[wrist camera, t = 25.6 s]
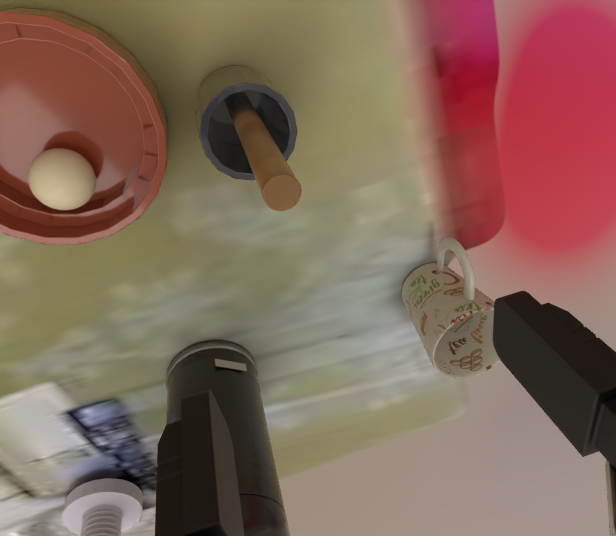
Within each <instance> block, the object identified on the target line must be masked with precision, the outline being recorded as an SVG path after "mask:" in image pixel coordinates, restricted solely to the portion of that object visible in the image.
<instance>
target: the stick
mask: <svg viewBox="0 0 616 536" xmlns="http://www.w3.org/2000/svg"><path fill="white" fill-rule="evenodd" d="M226 106H227V109H228V111H229V114H230V116H231V119H232V121H233V124H234V126H235V129H236V131H237V134H238V137H239V139H240V142H241V144H242V147H243V149H244V152H245V154H246V157H247V159H248V162H249V164H250V167H251V169H252V172H253V174H254V177H255V179H256V182H257V184H258V187H259V189H260V192H261V194H262V197H263V199H264V201H265V203H266V204H267V206H269V207H270V208H271V209H274V210H277V211H284V210H288V209H290V208H292V207H293V206H295V205H296V204H297V202H298V201H299V199H300V196H301V186H300V183H299V182H298V180H297V178H296V177H295V175H294V173H293V172H292V170H291V168H290V167H289V165H288V163H287V162H286V160H285V158H284V157H283V155H282V153H281V152H280V150H279V148H278V147H277V145H276V143H275V142H274V140H273V138H272V137H271V135H270V133H269V132H268V130H267V128H266V127H265V125H264V123H263V122H262V120H261V118H260V117H259V115H258V113H257V112H256V110H255V108H254V107H253V105H252V103H251V102H250V100H249V98H248V97H247V95H246V94H245V93H243V92H239V93H235V94H231V95H229V96H228V97H227V99H226Z"/></svg>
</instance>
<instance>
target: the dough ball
mask: <svg viewBox="0 0 616 536" xmlns="http://www.w3.org/2000/svg"><path fill="white" fill-rule="evenodd" d="M28 184H29V187H30V189H31V191H32V193H33V194H34V196H35V197H36V198H37V199H38V200H39V201H40V202H42V203H43V204H45V205H46V206H48V207H51V208H54V209H58V210H72V209H76V208H78V207H81V206H82V205H84V204H85V203H87V202H88V201H89V200H90V199H91V197H92V195H93V194H94V191H95V188H96V175H95V172H94V169H93V167H92V166H91V164H90V163H89V162H88V161H87V160H86V159H85V158H84V157H83V156H82V155H80V154H79V153H77V152H75V151H72V150H69V149H64V148H54V149H49V150H46V151H44V152H42V153H40V154H39V155H38V156H37V157H35V158H34V160H33V161H32V163H31V164H30V166H29V169H28Z"/></svg>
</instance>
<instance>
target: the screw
mask: <svg viewBox="0 0 616 536" xmlns="http://www.w3.org/2000/svg"><path fill="white" fill-rule="evenodd" d="M142 507H143V495H142V492H141V490H140V489H139V488H138V487H137V486H136V485H135V484H133V483H131V482H129V481H126V480H122V479H114V478H105V479H98V480H93V481H90V482H87V483H84V484H82V485H80V486H78V487H76V488H75V489H74V490H72V491H71V492H70V493H69V495H68V496H67V497H66V500H65V505H64V510H63V514H62V523H63V525H64V526H65V528H66V529H67V530H69V531H70V532H72V533H74V534H77V535H79V536H120V534H121V532H124V531H126V530H128V529H129V528H131V527H132V526H134V525H135V524H136V523H137V522H138V521H139V519H140V518H141V515H142Z"/></svg>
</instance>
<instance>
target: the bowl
mask: <svg viewBox="0 0 616 536" xmlns="http://www.w3.org/2000/svg"><path fill="white" fill-rule="evenodd" d="M54 148H64V149H69V150H72V151H75V152H77V153H79V154H80V155H82V156H83V157H84V158H85V159H86V160H87V161H88V162H89V163H90V164H91V166H92V167H93V169H94V172H95V175H96V188H95V191H94V194H93V195H92V197H91V199H90V200H89V201H88V202H87V203H85V204H84V205H82V206H81V207H78V208H76V209H72V210H58V209H54V208H51V207H48V206H46V205H45V204H43V203H42V202H40V201H39V200H38V199H37V198H36V197H35V196H34V194H33V193H32V191H31V189H30V187H29V184H28V169H29V166H30V164H31V163H32V161H33V160H34V158H35V157H37V156H38V155H39V154H40V153H42V152H44V151H46V150H49V149H54ZM166 166H167V121H166V116H165V113H164V110H163V107H162V104H161V102H160V99H159V96H158V93H157V90H156V88H155V86H154V84H153V82H152V81H151V80H150V78H149V77H148V75H147V74H146V73H145V71H144V70H143V69H142V67H141V66H140V64H139V63H138V62H137V60H136V59H135V58H134V56H133V55H132V54H131V53H130V52H129V51H127V50H126V49H125V48H124V47H122V46H121V45H120V44H119V43H117V42H116V41H115V40H114V39H112V38H111V37H110V36H109V35H107V34H106V33H105V32H104V31H102V30H101V29H99V28H97V27H95V26H93V25H90V24H88V23H85V22H83V21H81V20H78V19H76V18H74V17H71V16H69V15H67V14H64V13H62V12H61V13H60V12H57V11H48V10H39V9H30V8H14V9H9V10H5V11H0V232H2V233H4V234H6V235H8V236H13V237H17V238H21V239H25V240H29V241H33V242H38V243H42V244H82V243H86V242H89V241H93V240H97V239H100V238H104V237H107V236H111V235H113V234H115V233H116V232H118V231H119V230H121V229H123V228H124V227H126V226H127V225H129V224H130V223H132V222H133V221H135V220H137V219H138V218H139V217H140V216H141V215H142V213H143V212H144V211H145V209H146V208H147V207H148V206H149V204H150V203H151V202H152V201H153V199H154V198H155V197H156V195H157V194H158V191H159V188H160V185H161V182H162V178H163V175H164V172H165V169H166Z"/></svg>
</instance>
